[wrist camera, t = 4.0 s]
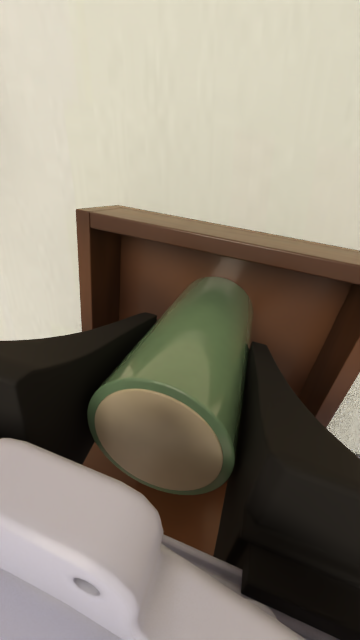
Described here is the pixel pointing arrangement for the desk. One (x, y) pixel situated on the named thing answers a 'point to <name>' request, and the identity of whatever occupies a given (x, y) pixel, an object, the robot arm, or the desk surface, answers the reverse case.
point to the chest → (241, 268)
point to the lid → (173, 506)
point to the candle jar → (180, 393)
